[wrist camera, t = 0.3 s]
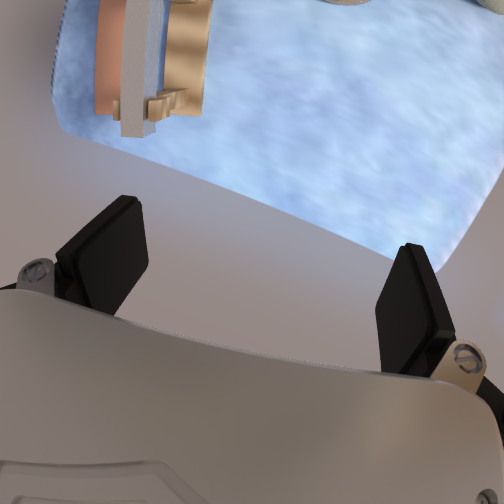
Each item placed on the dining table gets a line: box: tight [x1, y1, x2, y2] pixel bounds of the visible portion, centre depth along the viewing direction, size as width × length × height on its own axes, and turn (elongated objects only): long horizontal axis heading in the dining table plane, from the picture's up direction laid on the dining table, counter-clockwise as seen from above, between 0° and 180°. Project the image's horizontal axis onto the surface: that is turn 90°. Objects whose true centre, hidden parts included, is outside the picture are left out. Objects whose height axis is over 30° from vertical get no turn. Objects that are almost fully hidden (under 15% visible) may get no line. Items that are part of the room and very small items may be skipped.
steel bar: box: [120, 0, 164, 138], centre depth 26 cm, size 22×3×3 cm, turn 174°
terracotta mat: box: [95, 0, 127, 115], centre depth 37 cm, size 23×10×1 cm, turn 174°
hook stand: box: [113, 0, 213, 122], centre depth 31 cm, size 22×6×14 cm, turn 174°
